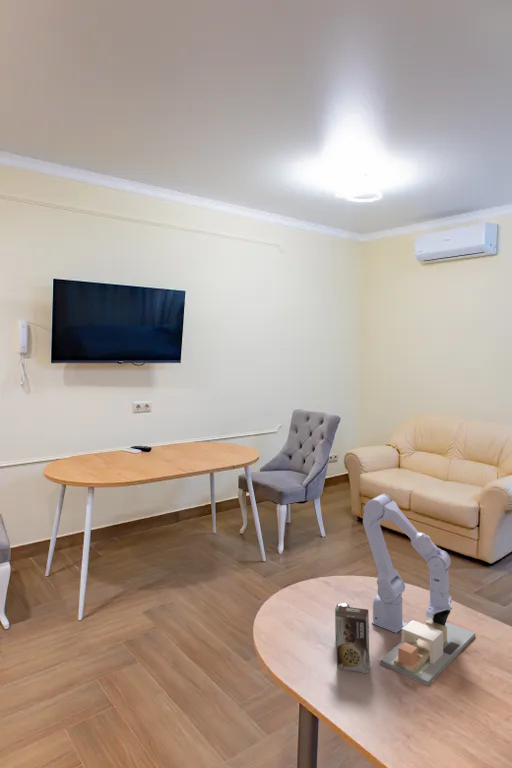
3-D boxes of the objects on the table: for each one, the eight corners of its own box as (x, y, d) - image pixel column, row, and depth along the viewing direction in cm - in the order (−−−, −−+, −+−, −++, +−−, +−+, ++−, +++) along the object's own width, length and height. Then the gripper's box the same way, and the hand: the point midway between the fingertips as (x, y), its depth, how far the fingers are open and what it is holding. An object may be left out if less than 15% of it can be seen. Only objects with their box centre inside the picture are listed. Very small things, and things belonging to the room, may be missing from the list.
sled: (393, 663, 145) (393, 648, 145) (427, 633, 161) (427, 619, 160) (414, 672, 140) (414, 657, 140) (447, 641, 156) (447, 626, 156)
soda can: (351, 647, 156) (350, 610, 156) (335, 646, 157) (334, 609, 157) (351, 638, 161) (351, 602, 161) (335, 637, 162) (335, 601, 162)
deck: (380, 663, 148) (380, 659, 148) (431, 620, 172) (431, 616, 172) (428, 685, 137) (428, 681, 137) (475, 636, 161) (475, 632, 161)
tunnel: (401, 650, 152) (401, 628, 152) (412, 641, 157) (412, 619, 157) (433, 664, 145) (432, 640, 145) (443, 654, 150) (443, 631, 150)
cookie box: (370, 661, 149) (369, 609, 148) (367, 674, 143) (367, 619, 142) (339, 656, 152) (339, 604, 151) (336, 668, 146) (335, 615, 145)
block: (398, 661, 144) (398, 647, 144) (405, 655, 147) (404, 642, 147) (411, 667, 142) (411, 653, 141) (417, 660, 144) (417, 647, 144)
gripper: (441, 602, 151) (441, 645, 151) (460, 586, 161) (461, 626, 162) (419, 594, 156) (420, 636, 156) (439, 579, 166) (440, 619, 167)
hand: (439, 631), depth 159 cm, fingers closed
